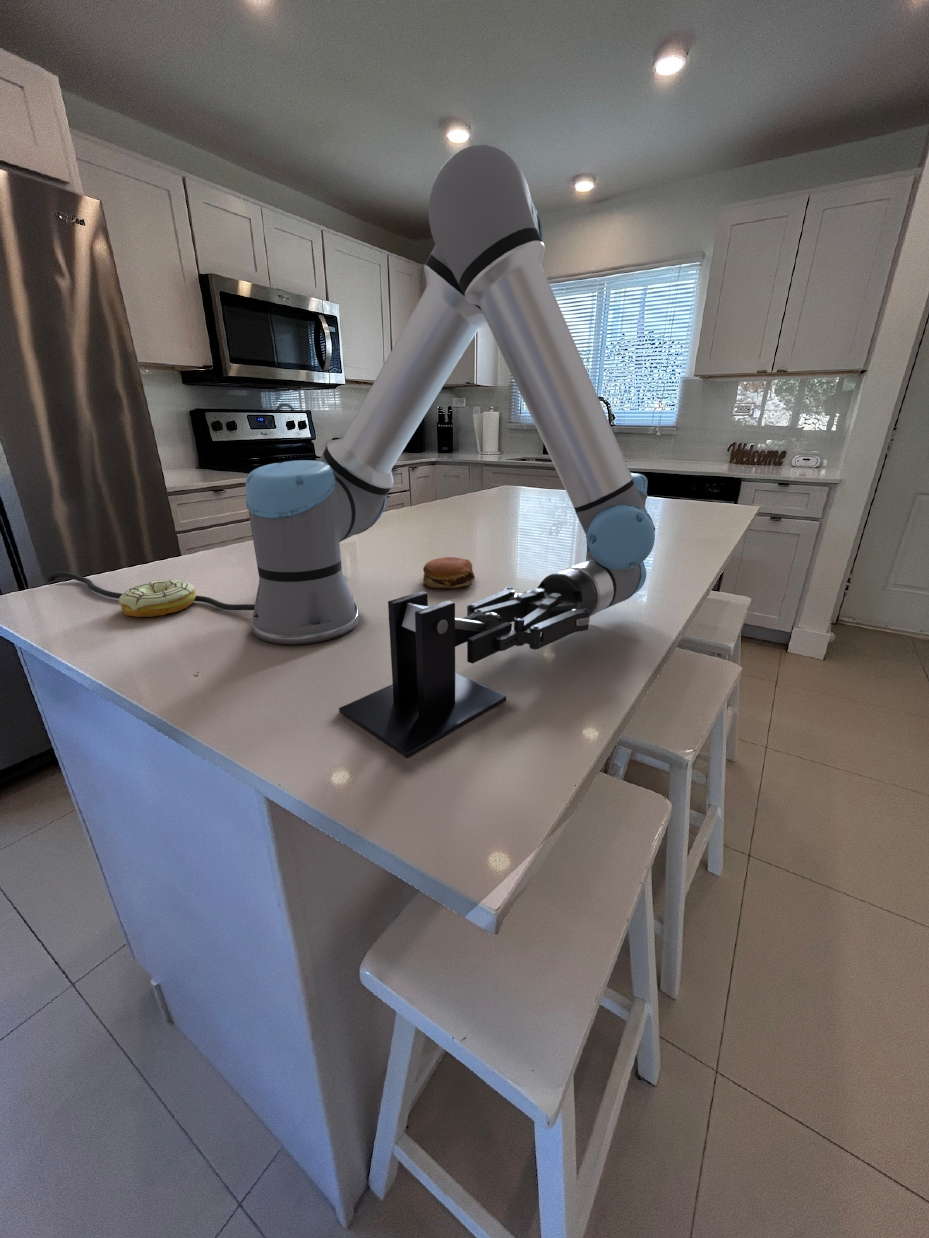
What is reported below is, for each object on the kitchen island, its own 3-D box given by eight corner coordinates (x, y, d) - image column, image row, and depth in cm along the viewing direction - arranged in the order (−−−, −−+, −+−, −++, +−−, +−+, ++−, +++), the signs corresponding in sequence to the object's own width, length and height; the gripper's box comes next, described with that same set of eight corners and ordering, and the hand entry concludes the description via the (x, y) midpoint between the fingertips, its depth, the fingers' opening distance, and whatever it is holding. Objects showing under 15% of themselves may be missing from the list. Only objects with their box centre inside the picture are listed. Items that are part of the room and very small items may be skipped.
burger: (414, 581, 98) (413, 557, 96) (453, 573, 103) (453, 550, 101) (443, 595, 90) (443, 570, 88) (484, 586, 95) (484, 561, 94)
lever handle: (483, 639, 61) (491, 610, 61) (506, 647, 59) (514, 618, 59) (395, 630, 51) (404, 595, 50) (419, 640, 48) (428, 604, 48)
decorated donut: (115, 608, 84) (109, 586, 82) (185, 593, 91) (180, 573, 89) (132, 625, 77) (126, 601, 75) (206, 608, 84) (202, 586, 82)
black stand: (437, 674, 63) (435, 575, 58) (506, 708, 56) (510, 597, 51) (339, 720, 53) (328, 605, 48) (407, 767, 46) (402, 638, 41)
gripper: (625, 636, 67) (514, 703, 51) (524, 605, 77) (406, 653, 62) (633, 581, 64) (517, 635, 48) (527, 557, 75) (404, 594, 59)
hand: (455, 645), depth 55 cm, fingers closed on lever handle, 4 cm apart
